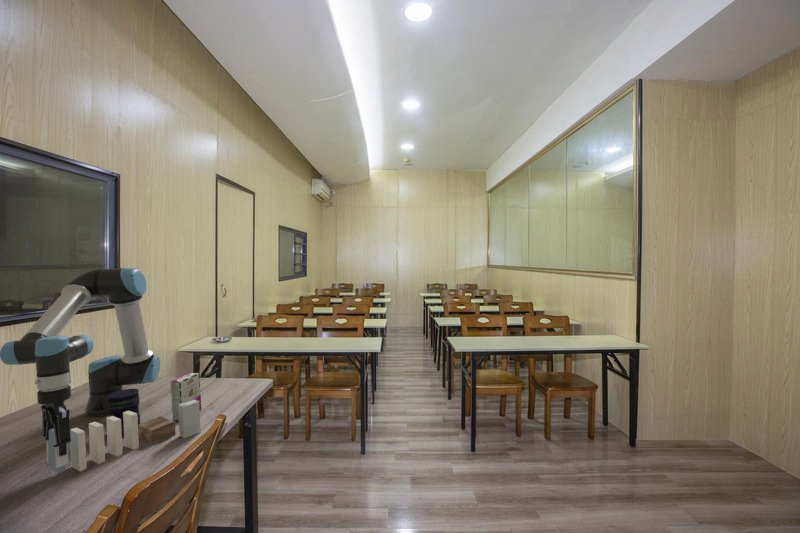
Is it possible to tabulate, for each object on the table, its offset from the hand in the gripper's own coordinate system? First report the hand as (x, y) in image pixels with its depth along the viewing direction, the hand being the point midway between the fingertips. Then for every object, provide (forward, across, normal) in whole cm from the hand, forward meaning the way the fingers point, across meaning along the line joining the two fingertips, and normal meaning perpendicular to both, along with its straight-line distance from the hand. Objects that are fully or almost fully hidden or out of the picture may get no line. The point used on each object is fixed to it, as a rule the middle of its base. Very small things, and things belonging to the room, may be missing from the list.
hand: (57, 462), depth 115 cm
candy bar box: (+4, -9, +45) cm, 46 cm away
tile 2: (+4, 0, +10) cm, 11 cm away
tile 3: (+4, 0, +15) cm, 16 cm away
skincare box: (+4, +10, +35) cm, 37 cm away
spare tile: (+2, 0, 0) cm, 2 cm away
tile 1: (+4, 0, +5) cm, 7 cm away
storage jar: (+4, -16, +25) cm, 30 cm away
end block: (+4, 0, +28) cm, 29 cm away
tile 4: (+4, 0, +20) cm, 21 cm away
